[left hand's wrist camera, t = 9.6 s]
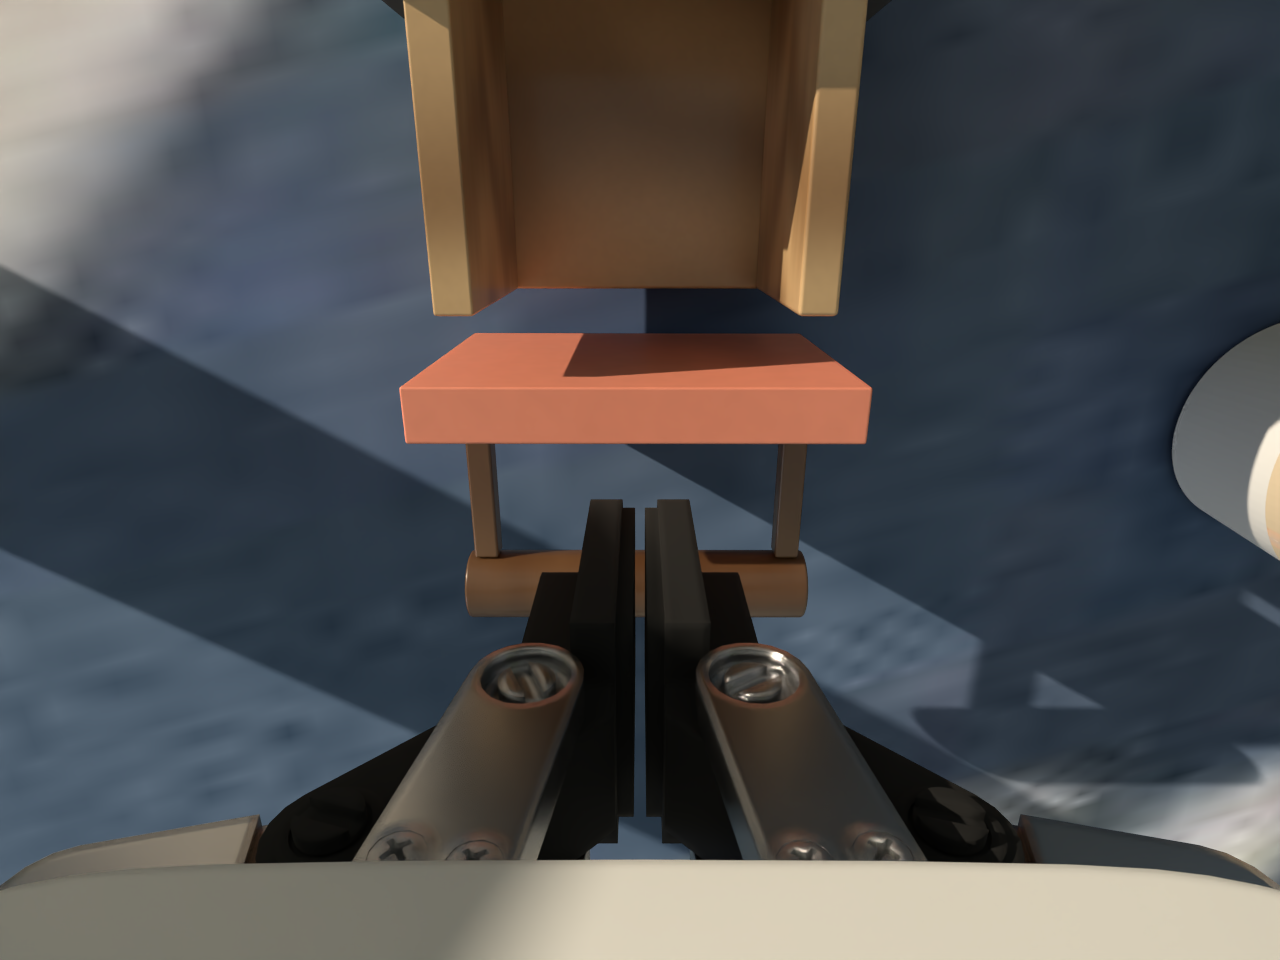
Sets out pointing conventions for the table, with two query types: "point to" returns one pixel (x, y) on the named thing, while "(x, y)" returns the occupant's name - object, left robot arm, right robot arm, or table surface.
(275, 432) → the table surface
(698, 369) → the drawer
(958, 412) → the table surface
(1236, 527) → the coffee cup
